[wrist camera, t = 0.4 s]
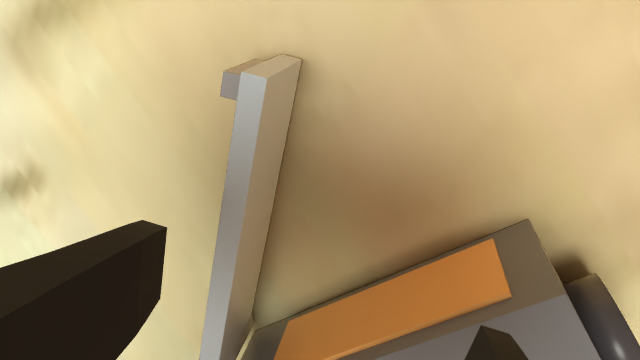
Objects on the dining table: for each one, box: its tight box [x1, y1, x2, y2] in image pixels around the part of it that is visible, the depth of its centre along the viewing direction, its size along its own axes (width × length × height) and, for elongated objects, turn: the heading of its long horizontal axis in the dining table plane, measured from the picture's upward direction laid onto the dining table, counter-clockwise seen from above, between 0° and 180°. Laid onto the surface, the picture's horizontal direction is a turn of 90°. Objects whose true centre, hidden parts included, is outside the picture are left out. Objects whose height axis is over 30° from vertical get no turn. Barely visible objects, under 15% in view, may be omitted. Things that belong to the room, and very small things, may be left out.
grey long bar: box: [199, 54, 302, 360], centre depth 18 cm, size 14×2×4 cm, turn 168°
